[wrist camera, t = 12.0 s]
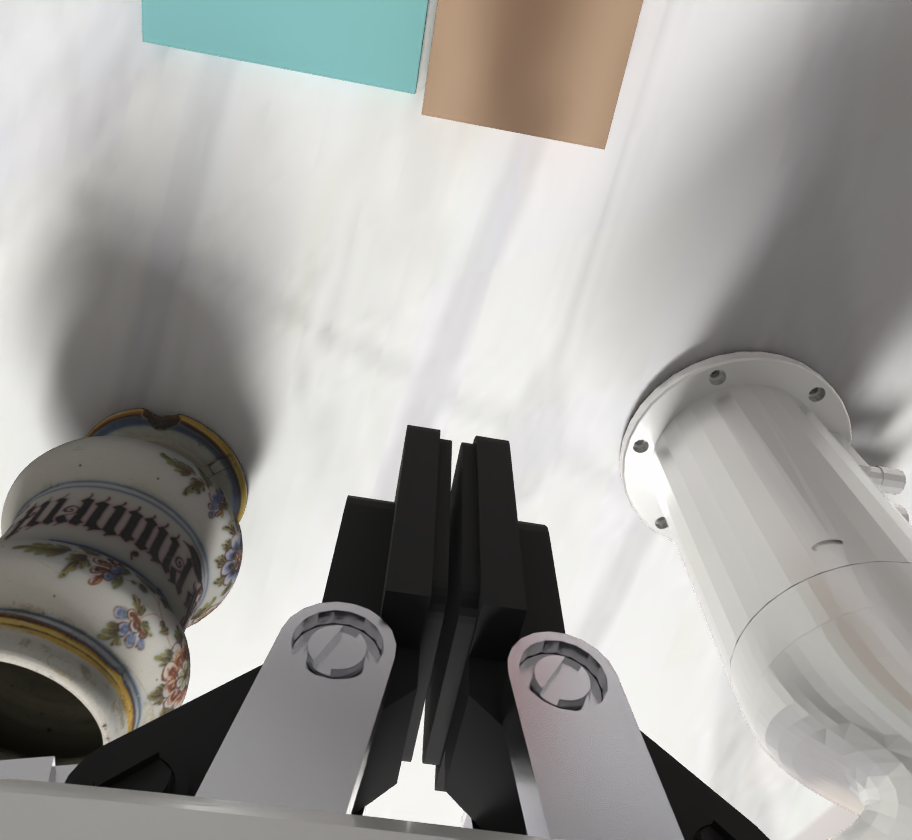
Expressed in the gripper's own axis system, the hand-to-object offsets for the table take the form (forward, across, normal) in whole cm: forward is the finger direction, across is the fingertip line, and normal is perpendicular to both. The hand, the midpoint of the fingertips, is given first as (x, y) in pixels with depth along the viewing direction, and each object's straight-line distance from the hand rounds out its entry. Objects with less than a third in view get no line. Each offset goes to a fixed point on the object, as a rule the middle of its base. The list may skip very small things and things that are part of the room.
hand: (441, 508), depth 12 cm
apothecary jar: (+27, +14, +20) cm, 37 cm away
